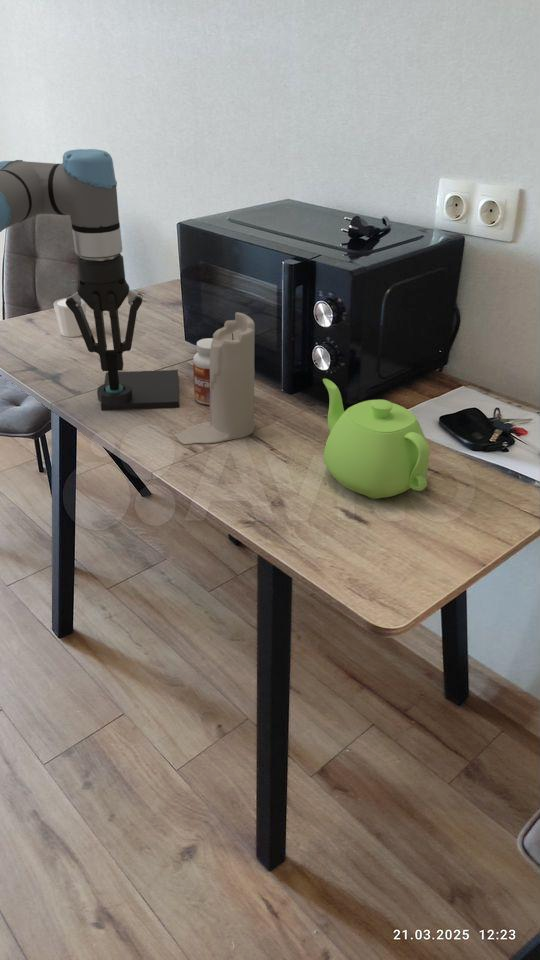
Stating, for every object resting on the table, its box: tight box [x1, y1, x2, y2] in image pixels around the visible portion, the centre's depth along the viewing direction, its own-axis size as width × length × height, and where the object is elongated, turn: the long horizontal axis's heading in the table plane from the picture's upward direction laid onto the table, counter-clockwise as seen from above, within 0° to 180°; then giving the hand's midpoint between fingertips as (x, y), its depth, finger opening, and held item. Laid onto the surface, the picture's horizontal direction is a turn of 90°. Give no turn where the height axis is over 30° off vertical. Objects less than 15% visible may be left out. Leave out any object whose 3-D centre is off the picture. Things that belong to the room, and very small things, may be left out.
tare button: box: [105, 384, 124, 394], centre depth 128 cm, size 3×3×2 cm
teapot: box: [322, 378, 431, 500], centre depth 107 cm, size 22×15×13 cm
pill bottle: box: [192, 337, 213, 406], centre depth 129 cm, size 6×6×11 cm
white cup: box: [52, 297, 87, 338], centre depth 156 cm, size 7×7×7 cm
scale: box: [96, 369, 180, 411], centre depth 132 cm, size 14×14×3 cm
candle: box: [173, 311, 256, 445], centre depth 115 cm, size 7×14×20 cm, turn 115°
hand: (114, 386), depth 127 cm, fingers closed
